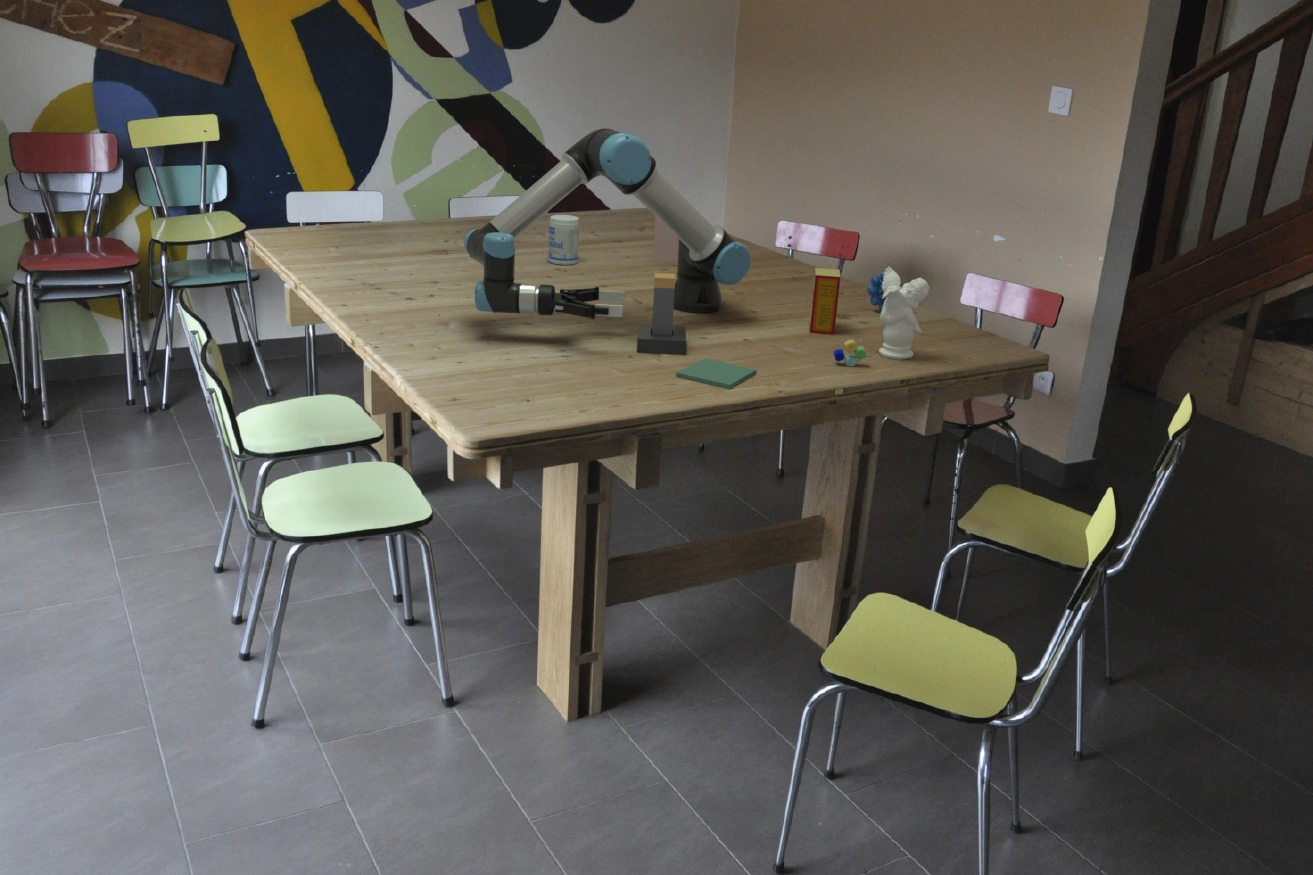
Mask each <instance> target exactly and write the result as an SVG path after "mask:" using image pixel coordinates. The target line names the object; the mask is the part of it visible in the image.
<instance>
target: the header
mask: <svg viewBox="0 0 1313 875" xmlns="http://www.w3.org/2000/svg"><path fill="white" fill-rule="evenodd" d="M686 329H687V328H686V326H684V325H683V326H681V325H680V326H679V325H673V327H672V336H660V335H652V324H640V323H638V328H637V339H636V340H637V341H636V342H637V343H636V352H637V353H645V354H647V353H648V354H662V355H666V354H667V355H686V352H687V350H686V349H687V330H686Z"/></svg>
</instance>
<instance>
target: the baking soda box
mask: <svg viewBox="0 0 1313 875" xmlns="http://www.w3.org/2000/svg"><path fill="white" fill-rule="evenodd" d="M813 274H814V276H813V284H812V285H813V286H812V296H811V305H810V313H809V314H810V315H809V322H808V323H809V325H808V326H809V333H811V334H823V335H835V331H836V330H835V328H836V321H837V311H838V302H839V294H840V283H841V272H840V268H839V269H838V268H825V267H815V268H814V273H813Z"/></svg>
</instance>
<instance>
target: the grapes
mask: <svg viewBox="0 0 1313 875" xmlns="http://www.w3.org/2000/svg"><path fill="white" fill-rule="evenodd" d="M885 271H886V270H883V271H881V272H880V274H879V275H876V274H875V275H873V276H871V278H870V282H871V284H870V285H869V284H868V286H867V288H866V292H867V294H869V296H870V298H869V302H870V304H871V305H872V306H875V307H876V306H878V308H879V311H880V312H881V311H882V308H883V305H884V301H885V299H886V297H885V298H884V299H882V297H883V295H884V292H883V290H882V282H884V281H883V279H884V277H883V276H884V272H885ZM904 284H905V283H902V282H901V283H900V287H902V286H903V285H904Z"/></svg>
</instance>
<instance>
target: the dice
mask: <svg viewBox="0 0 1313 875" xmlns="http://www.w3.org/2000/svg"><path fill="white" fill-rule="evenodd" d="M844 346H845V349H846V350H847V353H848V355H845V354H844V350H843V349H842V348H838V349H835V350H833V357H834V360H835V362H841V361H844V365H845V366H847V367H851V366H852V367H856V364H857V360H863V359H865V358H866V357H867V353H866V350H865V346H862V345H861V346H857V345H856V342H855V340H854V339H848V340H847V341H845V342H844ZM849 353H854V355H852V354H849Z"/></svg>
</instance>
